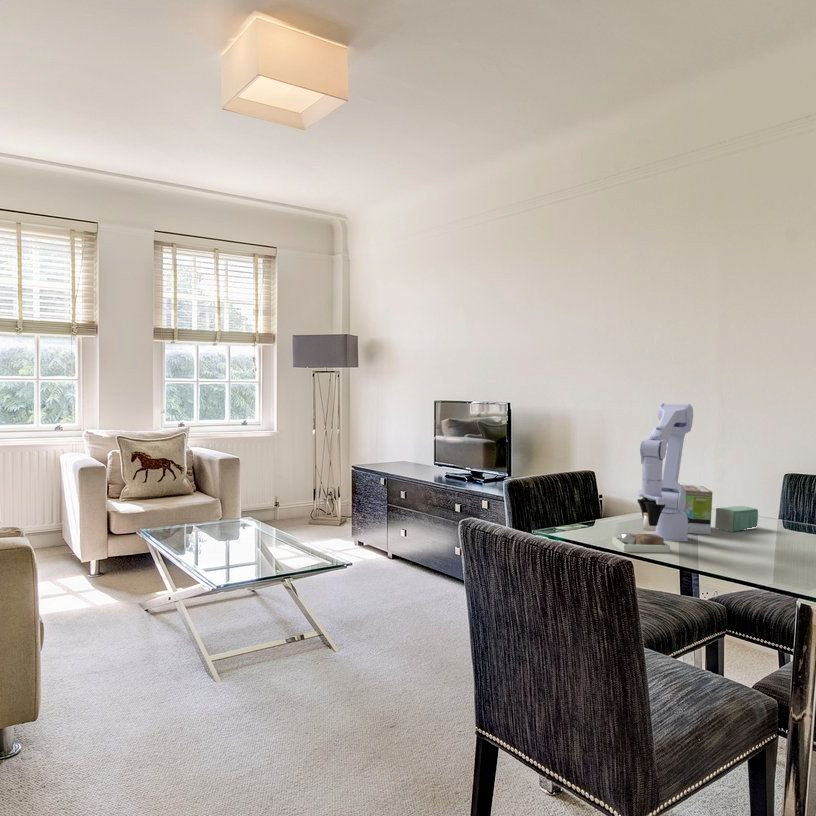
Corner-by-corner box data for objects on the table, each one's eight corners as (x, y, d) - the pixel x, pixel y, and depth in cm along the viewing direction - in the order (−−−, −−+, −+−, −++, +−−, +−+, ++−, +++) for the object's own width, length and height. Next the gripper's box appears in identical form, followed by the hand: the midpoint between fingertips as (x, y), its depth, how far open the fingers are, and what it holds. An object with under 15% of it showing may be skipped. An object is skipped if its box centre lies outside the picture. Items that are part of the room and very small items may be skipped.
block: (655, 545, 208) (655, 534, 208) (663, 550, 202) (663, 538, 202) (635, 545, 208) (636, 533, 208) (643, 550, 202) (643, 538, 202)
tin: (633, 545, 207) (633, 533, 207) (638, 549, 203) (638, 536, 203) (618, 545, 207) (619, 532, 207) (623, 549, 203) (624, 536, 203)
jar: (640, 528, 207) (641, 512, 207) (653, 528, 207) (654, 512, 207) (645, 531, 203) (645, 514, 203) (657, 531, 203) (658, 515, 203)
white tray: (655, 545, 211) (656, 537, 211) (669, 553, 200) (669, 545, 200) (612, 544, 210) (612, 537, 210) (623, 552, 200) (624, 545, 200)
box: (758, 529, 238) (758, 508, 238) (733, 532, 232) (734, 511, 231) (739, 525, 245) (739, 504, 244) (714, 528, 238) (715, 507, 238)
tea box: (711, 535, 227) (713, 491, 226) (679, 533, 229) (681, 489, 228) (701, 525, 242) (703, 484, 241) (671, 524, 244) (673, 483, 243)
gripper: (630, 475, 212) (628, 519, 212) (648, 482, 197) (646, 529, 198) (652, 476, 212) (650, 519, 212) (672, 483, 197) (670, 529, 198)
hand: (650, 524), depth 205 cm, fingers closed on jar, 4 cm apart
